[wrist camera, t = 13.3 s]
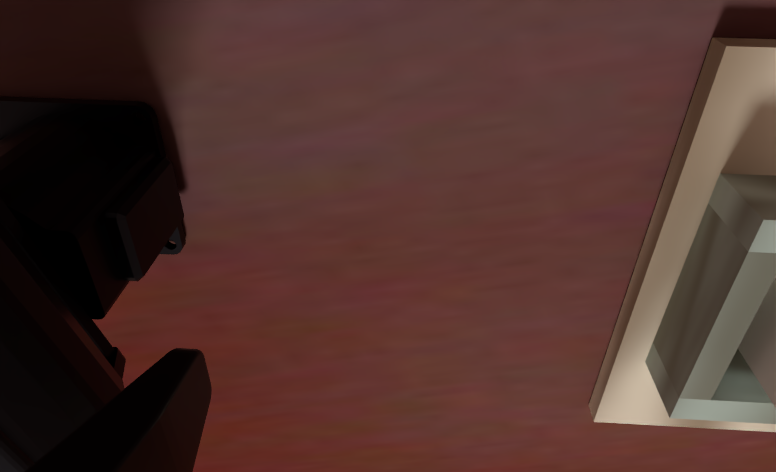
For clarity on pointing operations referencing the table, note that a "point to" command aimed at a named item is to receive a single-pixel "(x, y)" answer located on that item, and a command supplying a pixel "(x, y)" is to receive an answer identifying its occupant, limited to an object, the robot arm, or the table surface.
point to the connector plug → (763, 344)
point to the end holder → (703, 260)
